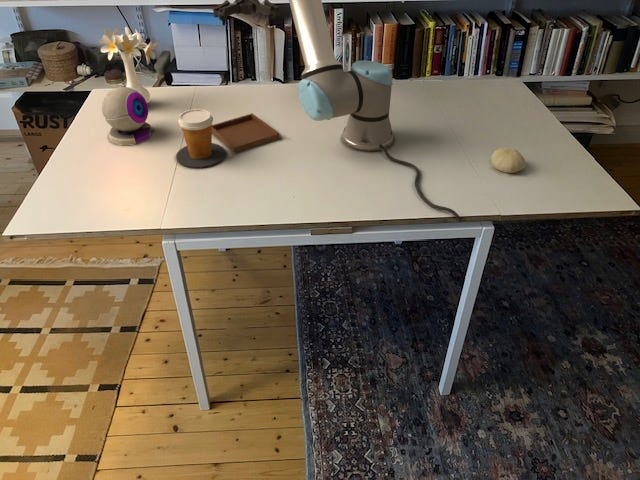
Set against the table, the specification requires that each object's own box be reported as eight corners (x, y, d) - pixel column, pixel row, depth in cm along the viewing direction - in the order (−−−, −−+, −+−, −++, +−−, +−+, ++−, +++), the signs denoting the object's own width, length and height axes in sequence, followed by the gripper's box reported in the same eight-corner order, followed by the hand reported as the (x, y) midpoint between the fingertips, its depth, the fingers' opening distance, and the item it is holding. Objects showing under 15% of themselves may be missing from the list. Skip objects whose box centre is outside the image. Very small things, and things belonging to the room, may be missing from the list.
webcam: (136, 148, 161) (126, 100, 152) (100, 141, 164) (87, 94, 155) (160, 128, 171) (151, 83, 161) (125, 122, 174) (114, 77, 164)
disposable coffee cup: (224, 151, 159) (219, 113, 151) (201, 165, 152) (196, 126, 145) (199, 143, 162) (194, 105, 155) (176, 156, 156) (170, 118, 149)
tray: (279, 138, 166) (279, 133, 165) (234, 153, 159) (234, 147, 158) (252, 118, 177) (252, 113, 175) (209, 131, 169) (208, 126, 168)
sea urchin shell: (509, 173, 147) (499, 146, 148) (491, 181, 155) (481, 155, 155) (534, 165, 151) (524, 138, 151) (515, 173, 158) (506, 147, 158)
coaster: (234, 158, 156) (233, 157, 156) (189, 173, 150) (189, 171, 150) (211, 139, 165) (211, 138, 165) (168, 153, 159) (168, 151, 159)
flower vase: (161, 115, 178) (146, 38, 162) (106, 113, 179) (86, 36, 163) (172, 99, 188) (160, 24, 172) (120, 96, 189) (103, 22, 173)
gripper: (285, 10, 180) (289, 31, 164) (209, 12, 178) (205, 33, 162) (284, -14, 176) (288, 5, 159) (206, -12, 174) (202, 7, 157)
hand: (246, 20), depth 161 cm, fingers open, 13 cm apart
